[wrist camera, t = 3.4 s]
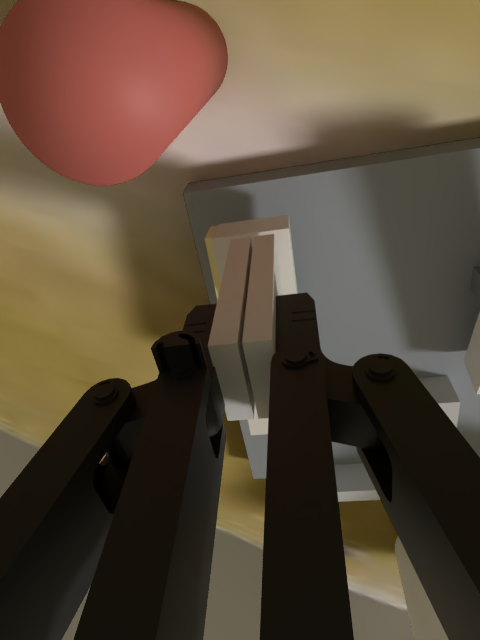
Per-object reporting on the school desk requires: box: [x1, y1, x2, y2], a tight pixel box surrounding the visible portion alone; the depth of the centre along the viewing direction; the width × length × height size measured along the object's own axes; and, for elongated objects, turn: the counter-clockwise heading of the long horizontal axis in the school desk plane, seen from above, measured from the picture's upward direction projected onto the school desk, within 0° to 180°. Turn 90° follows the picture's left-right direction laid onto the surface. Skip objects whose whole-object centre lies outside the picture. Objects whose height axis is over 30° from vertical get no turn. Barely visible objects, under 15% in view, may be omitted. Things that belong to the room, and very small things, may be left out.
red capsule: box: [0, 0, 228, 186], centre depth 13 cm, size 4×4×11 cm
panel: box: [183, 138, 480, 502], centre depth 23 cm, size 20×18×4 cm
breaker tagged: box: [205, 214, 298, 435], centre depth 20 cm, size 10×3×2 cm, turn 10°
